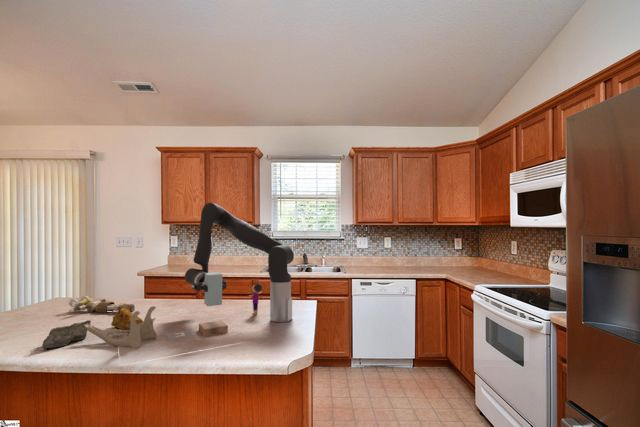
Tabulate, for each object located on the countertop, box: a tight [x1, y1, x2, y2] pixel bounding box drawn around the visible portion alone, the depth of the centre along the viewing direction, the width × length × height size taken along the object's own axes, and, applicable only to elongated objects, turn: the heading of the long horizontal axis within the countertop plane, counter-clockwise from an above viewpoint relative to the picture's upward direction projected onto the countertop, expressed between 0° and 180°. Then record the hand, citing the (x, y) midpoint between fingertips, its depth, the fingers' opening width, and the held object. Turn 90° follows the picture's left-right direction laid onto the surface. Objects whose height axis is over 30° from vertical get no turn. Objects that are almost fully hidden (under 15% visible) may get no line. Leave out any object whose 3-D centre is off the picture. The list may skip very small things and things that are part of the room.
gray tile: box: [165, 329, 195, 341], centre depth 128 cm, size 9×9×1 cm
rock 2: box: [110, 308, 144, 330], centre depth 138 cm, size 11×8×10 cm
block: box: [203, 272, 223, 307], centre depth 133 cm, size 6×6×12 cm
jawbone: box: [84, 305, 158, 349], centre depth 120 cm, size 25×10×14 cm, turn 82°
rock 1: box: [41, 319, 92, 349], centre depth 121 cm, size 17×7×10 cm
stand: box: [198, 319, 229, 337], centre depth 132 cm, size 9×9×3 cm
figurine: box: [68, 295, 135, 314], centre depth 164 cm, size 24×7×30 cm
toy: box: [248, 282, 263, 315], centre depth 159 cm, size 10×6×15 cm, turn 154°
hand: (215, 288), depth 131 cm, fingers closed on block, 5 cm apart
